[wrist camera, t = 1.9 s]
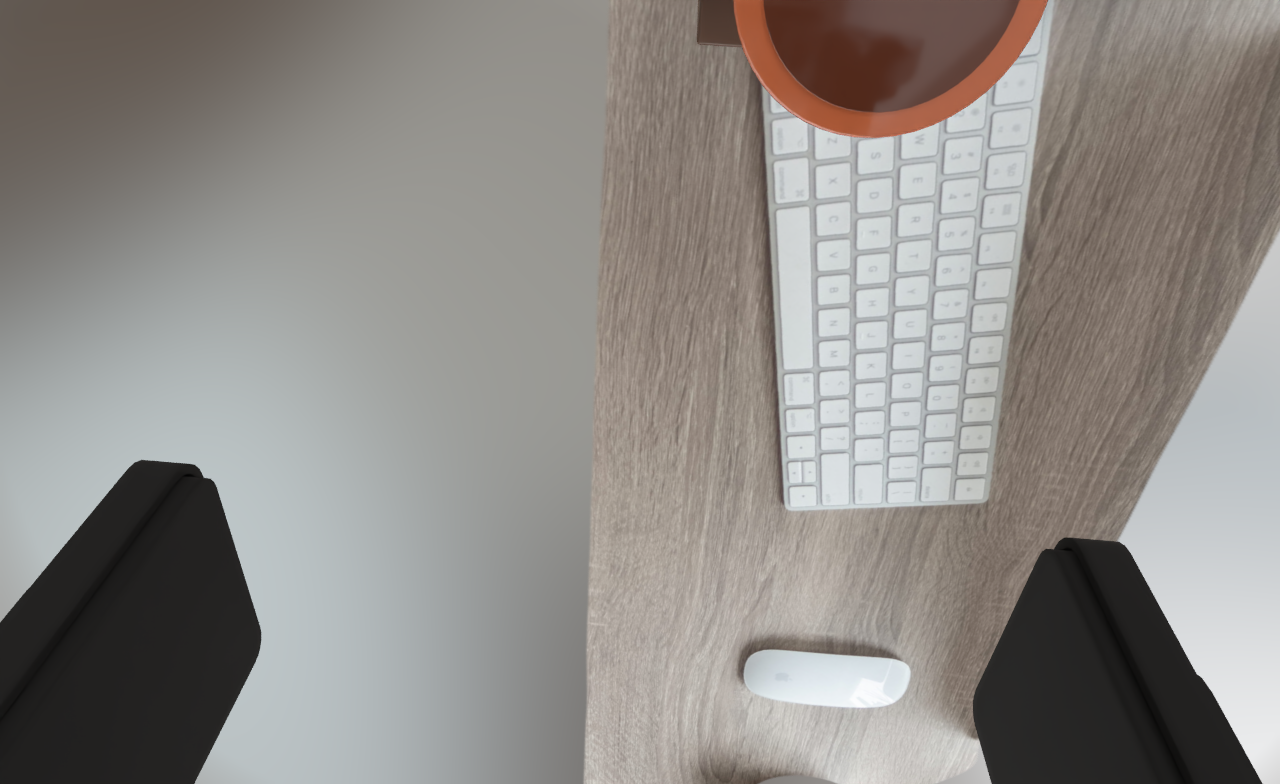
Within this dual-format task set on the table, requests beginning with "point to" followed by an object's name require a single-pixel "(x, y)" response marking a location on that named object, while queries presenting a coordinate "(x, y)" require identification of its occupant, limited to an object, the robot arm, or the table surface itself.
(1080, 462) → the table surface
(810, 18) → the tumbler
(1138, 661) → the robot arm
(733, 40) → the brown wooden block
